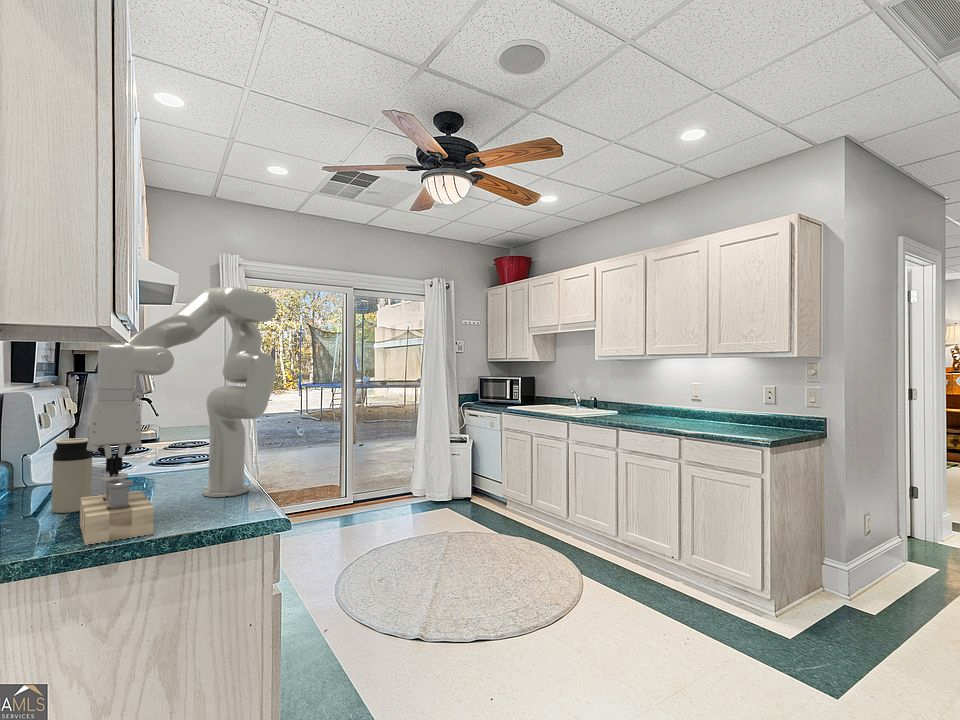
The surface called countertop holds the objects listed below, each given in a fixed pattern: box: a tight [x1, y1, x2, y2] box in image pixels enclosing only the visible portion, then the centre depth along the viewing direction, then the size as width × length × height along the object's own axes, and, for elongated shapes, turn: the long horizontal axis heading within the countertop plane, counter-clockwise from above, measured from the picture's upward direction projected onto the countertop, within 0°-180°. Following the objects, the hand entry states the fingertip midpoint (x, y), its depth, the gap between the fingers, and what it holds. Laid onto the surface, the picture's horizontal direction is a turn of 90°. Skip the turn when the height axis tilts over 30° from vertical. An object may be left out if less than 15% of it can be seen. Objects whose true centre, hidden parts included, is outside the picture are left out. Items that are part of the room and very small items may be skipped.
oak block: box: [79, 490, 155, 546], centre depth 118 cm, size 20×12×6 cm, turn 40°
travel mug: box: [50, 437, 93, 514], centre depth 133 cm, size 8×8×18 cm
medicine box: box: [91, 462, 109, 496], centre depth 149 cm, size 8×4×9 cm, turn 77°
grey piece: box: [105, 479, 134, 510], centre depth 114 cm, size 5×5×7 cm
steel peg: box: [101, 472, 129, 501], centre depth 122 cm, size 5×5×7 cm
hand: (113, 474), depth 122 cm, fingers closed
